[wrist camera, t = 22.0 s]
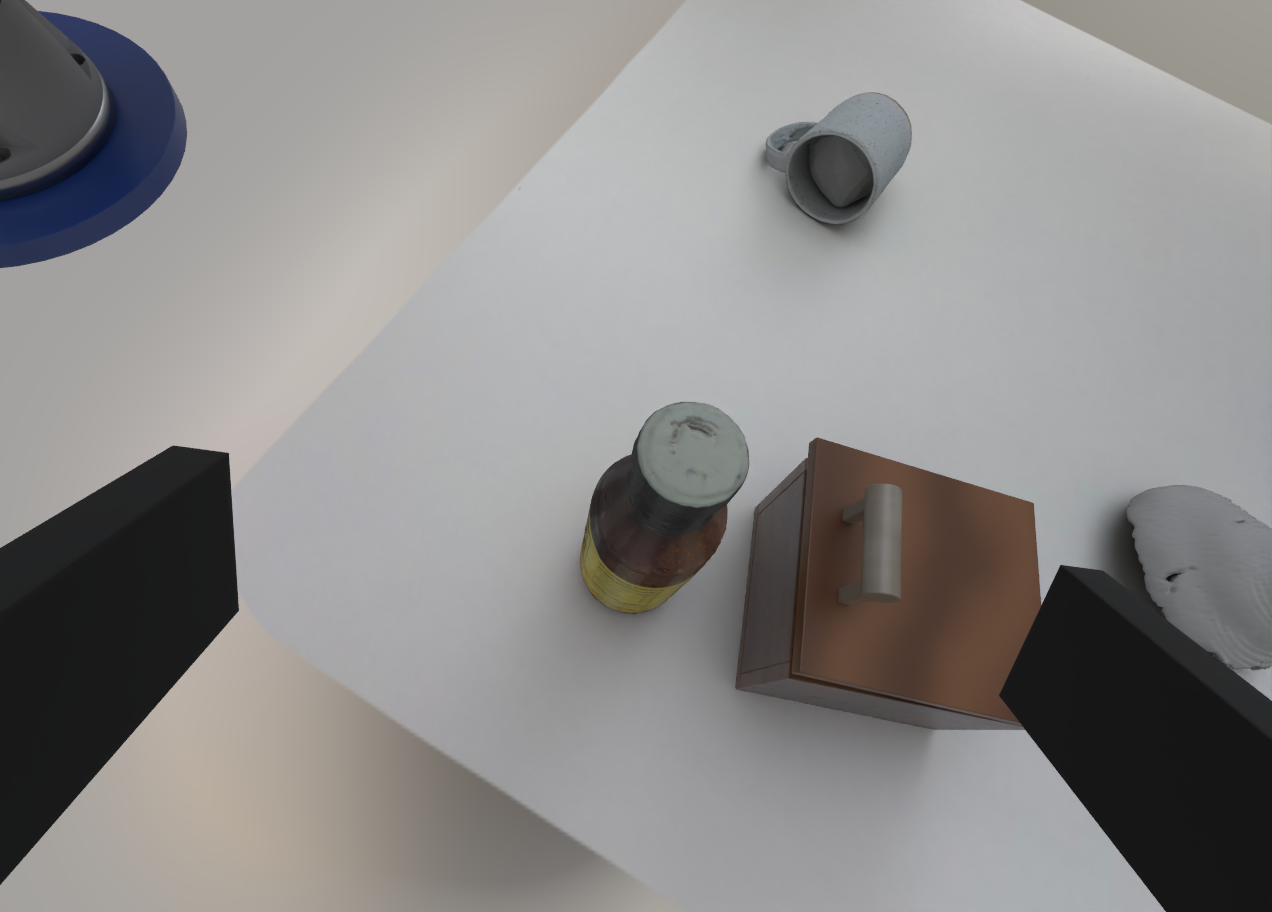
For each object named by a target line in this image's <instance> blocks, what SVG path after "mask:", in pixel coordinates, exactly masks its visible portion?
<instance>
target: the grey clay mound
mask: <svg viewBox="0 0 1272 912" xmlns="http://www.w3.org/2000/svg"><path fill="white" fill-rule="evenodd" d="M1126 511H1127V514H1126V515H1127V516H1128V517H1127V518H1128V521H1129V522H1130V523H1132V524H1133V525H1134V528H1135V529H1134V531H1133V534H1132V537H1133V538H1135V549H1136V551H1137V553H1138V555H1139V558H1138V559H1139V562H1140V563H1141V564H1143V571H1144V572H1145V576H1144V580H1145V585H1146V590H1147V592H1149V593H1150V594H1151V599H1152V600H1153V601H1154V602H1156V603H1157V606H1159V607H1162V608H1163V610H1162V612H1163V613H1164V614H1165V617H1166V620H1167V621H1169V622H1170V623H1171V624H1173V625H1174V626H1175V627H1177V628H1178V629H1179V630H1180V631H1182V632H1183V633H1184V634H1186V635H1187V636H1188V637H1189V638H1191V639H1192V640H1193V641H1195V642H1196V643H1197V644H1199V645H1200V646H1201V647H1202V648H1204V649H1205V650H1206V651H1208V652H1214V653H1215V654H1216V655H1217V656H1218V657H1219V658H1220V659H1221V660H1222V661H1223V663H1224V664H1229V665H1230V666H1231V667H1232V668H1236V669H1238V668H1246V669H1249V668H1250V669H1251V670H1260V669H1267V668H1270V667H1271V666H1272V529H1271V528H1270V527H1268V526H1267V525H1265V524H1263V523H1262V522H1261V521H1259V520H1257V519H1256V518H1254V517H1252V516H1251V515H1249V514H1248V512H1246V511H1245V510H1242V509H1241V508H1240V507H1239V506H1237V505H1235V504H1234V503H1232V501H1231V500H1230V499H1228V498H1226V497H1223V496H1221V495H1219V494H1217V493H1214V492H1212V491H1208V490H1206V489H1202V488H1199V487H1194V486H1187V485H1174V486H1166V487H1158V488H1153V489H1149V490H1146V491H1144V492H1142V493H1140V494H1138V495H1137V496H1135V497H1134V498H1132V499H1131V501H1130V505H1129V508H1127V509H1126ZM1173 574H1180V575H1175V576H1172V577H1171V580H1170V581H1168V580H1167V579H1166V578H1167V577H1168V576H1170V575H1173Z"/></svg>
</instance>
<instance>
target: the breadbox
mask: <svg viewBox="0 0 1272 912" xmlns="http://www.w3.org/2000/svg"><path fill="white" fill-rule="evenodd" d="M807 466H808V458H806V459H804V460H803V461H802V462H801V463H800V464H799V465H798V466H797V467H796V468H795V469H794V470H793V471H792V472H791V473H790V474H789V475H788V476H787V477H786V478H785V479H784V480H783V481H782V482H781V483H780V484H779V485H778V486H777V487H776V488H775V489H774V490H773V491H772V492H771V493H770V494H769V495H768V496H767V497H766V498H765V499H764V500H763V501H762V502H761V503H760V504H759V505H758V506H757V507H756V508H755V515H754V524H753V533H752V542H751V551H750V561H749V570H748V579H747V588H746V597H745V606H744V615H743V624H742V633H741V643H740V652H739V661H738V670H737V679H736V689H737V690H742V691H747V692H752V693H757V694H762V695H767V696H772V697H777V698H782V699H787V700H792V701H796V702H801V703H806V704H811V705H816V706H821V707H826V708H831V709H836V710H841V711H846V712H850V713H855V714H860V715H865V716H870V717H875V718H880V719H885V720H890V721H895V722H900V723H905V724H909V725H914V726H919V727H924V728H929V729H934V730H1025V729H1024V727H1023V726H1020V725H1016V724H1011V723H1007V722H1002V721H998V720H994V719H989V718H985V717H980V716H976V715H972V714H967V713H963V712H959V711H954V710H950V709H945V708H941V707H937V706H932V705H928V704H923V703H919V702H915V701H910V700H906V699H902V698H897V697H893V696H888V695H884V694H880V693H875V692H871V691H866V690H862V689H858V688H853V687H849V686H844V685H840V684H836V683H831V682H827V681H823V680H818V679H814V678H809V677H805V676H801V675H796V674H793V673H792V659H793V646H794V633H795V620H796V607H797V595H798V582H799V569H800V556H801V543H802V530H803V517H804V504H805V491H806V478H807Z"/></svg>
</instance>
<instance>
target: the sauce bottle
mask: <svg viewBox="0 0 1272 912" xmlns="http://www.w3.org/2000/svg"><path fill="white" fill-rule="evenodd" d="M748 468H749V454H748V447H747V444H746V441H745V437H744V435H743V433H742V432H741V430H740V428H739V427H738V425H736V424H735V423H734V421H733V420H732V419H731V418H730V417H729V416H728V415H726V414H725V413H723V412H722V411H720V410H719V409H718V408H715V407H713V406H711V405H708V404H703V403H696V402H680V403H674V404H671V405H668V406H666V407H664V408H662V409H659V410H657V411H656V412H654V413H653V414H652V415H651V416H650V417H649V418H648V419H647V420H646V422H645V424H644V425H643V427H642V429H641V430H640V432H639V435H638V437H637V439H636V440H635V443H634V446H633V451H632V455H629V456H626V457H624V458H622V459H620V460H619V461H617V462H615V463H614V464H613V465H612V466H611V467H609V468H608V469H607V471H606V472H605V473H604V474H603V475H602V477H601V478H600V480H599V482H598V484H597V486H596V488H595V490H594V493H593V496H592V500H591V504H590V510H589V515H588V519H587V524H586V527H585V534H584V539H583V543H582V549H581V556H580V564H581V572H582V575H583V578H584V581H585V583H586V585H587V586H588V588H589V590H590V591H591V593H592V595H593V596H594V597H595V598H596V599H597V600H599V601H600V602H601V603H603V604H604V605H606V606H607V607H609V608H611V609H615V610H618V611H622V612H624V613H630V614H636V613H637V612H644V611H648V610H651V609H653V608H655V607H657V606H659V605H661V604H662V603H664V602H665V601H666V600H667V599H668V598H670V597H671V596H672V595H673V594H674V593H675V592H676V591H678V590H679V589H680V588H681V587H682V586H683V585H684V584H685V583H686V582H688V581H689V580H690V579H691V578H692V577H693V576H694V575H695V574H696V573H697V572H698V571H699V570H700V569H701V568H702V567H703V566H704V565H705V564H706V562H707V561H708V560H709V559H710V558H711V556H712V555H713V554H714V553H715V552H716V550H717V548H718V546H719V544H720V543H721V539H722V538H723V535H724V533H725V530H726V524H727V504H728V502H729V501H730V500H731V499H732V498H733V496H734V495H735V494H736V493H737V492H738V490H739V489H740V488H741V486H742V484H743V483H744V481H745V479H746V476H747V473H748Z"/></svg>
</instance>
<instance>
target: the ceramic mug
mask: <svg viewBox="0 0 1272 912" xmlns="http://www.w3.org/2000/svg"><path fill="white" fill-rule="evenodd" d="M911 140H912V131H911V124H910V120H909V118H908V115H907V114H906V112H905V111H904V109H903V108H902V107H901V106H900V105H899V104H898V103H897V102H896V101H895V100H894V99H892V98H890V97H889V96H887V95H883V94H880V93H863V94H858V95H856V96H853V97H851V98H849V99H847V100H845V101H844V102H842V103H841V104H839V105H838V106H837V107H835V108H834V109H833V110H832V111H831V112H830V113H829V114H828V115H827V116H826V117H825V118H824V119H822V120H821V121H820V122H819V123H815V122H799V123H794V124H790V125H787V126H784V127H782V128H779V129H778V130H776V131H775V132H773V133H772V134H771V135H770V136H769V137H768V138H767V140H766V159H767V162H768V164H769V165H770V166H771V167H773V168H774V169H776V170H779V171H781V172H784V173H786V182H787V186H788V189H789V191H790V194H791V195H792V197H793V199H794V201H795V202H796V203H797V204H798V206H799V207H800V208H801V209H802V210H803V211H804V212H806V213H807V214H808V215H810V216H811V217H813V218H815V219H816V220H818V221H821V222H824V223H829V224H843V223H848V222H850V221H853V220H855V219H857V218H859V217H860V216H862V215H863V214H864V213H865V212H866V211H867V210H868V209H869V208H870V207H871V205H872V204H873V203H874V201H875V200H876V199H877V198H878V196H879V195H880V194H881V193H882V191H883V190H884V189H885V187H886V186H887V185H888V183H889V182H890V181H891V180H892V178H893V177H894V176H895V175H896V173H897V172H898V171H899V170H900V168H901V167H902V165H903V164H904V162H905V160H906V157H907V155H908V153H909V150H910V146H911ZM792 141H797V142H796V143H795V145H794V146H793V148H792V149H791V151H790V153H789V154H786V153H783V152H781V151H779V150H778V149H779V148H781V147H782V146H783V145H784V144H786V143H789V142H792Z"/></svg>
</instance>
